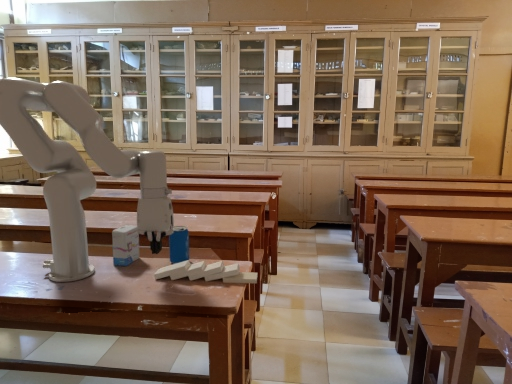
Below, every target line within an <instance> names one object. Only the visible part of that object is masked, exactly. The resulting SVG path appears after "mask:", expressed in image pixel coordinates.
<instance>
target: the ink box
mask: <svg viewBox="0 0 512 384" xmlns="http://www.w3.org/2000/svg"><path fill="white" fill-rule="evenodd" d="M137 231H138V228H137V225H131V224H128V225H127V224H125V225H123V226H120V227H118V228H115V229H113V230H112V231H111V232H112V233H111V235H112V256H113V257H112V263H113V266H121V267H122V266H123V267H127V266H129V265H130V264H132V263H133V262H135V261H136V260H138V259H140V237H139V235H140V234H139V233H138V232H137Z"/></svg>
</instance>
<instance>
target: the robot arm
mask: <svg viewBox="0 0 512 384" xmlns="http://www.w3.org/2000/svg"><path fill="white" fill-rule="evenodd" d="M29 111H34V112H35V111H36V112H49V113H50V112H51V113H55V114H56V115H57V116H58V117H59V118H60V119H61V120H63V122H64V123H65V124H66V125H67V126H68V127H69V128H70V129H72V131H73V132H74V134H76V135H77V136H78V138H79V140H80V142H81V145H82V147H83V149H84V151H85V152H86V154H87V156H88V157H89V158H90V159H91V161H93V162H94V164H95V165H97V166H98V167H99V168H100V169H101V170H102V171H103V172H104V173H106V174H107V175H108V176H110V177H112V178H115V179H122V178H123V179H124V178H126V177H130V176H133V175H138V174H139V187H140V189H139V190H140V197H138V201H137V206H136V207H137V209H136V226H137V228H138V231H137V232H138V233H139V235H144V236H145V237H146V238H147V239H148V241H149V244H150V245H149V247H150V248H149V249H150V251H151V254H152V255H158V254H159V253H160V252H161V251H162V249H163V248H162V247H163V245H162V243H163V241H162V239H163V238H164V237H166V236H169V235H171V234H173V232H174V231H173V228H172V227H174V225H175V220H174V219H175V217H174V208H173V204H172V200H171V199H172V198H171V196H169V195H172V192H173V190H172V189H170V188H169V187H168V183H167V182H168V181H167V156H166V153H165V152H164V151H161V150H144V151H143V150H137V149H120V148H119V147H118V146H117V145H115V144H114V142H113V141H111V140H110V138H109V137H108V135H107V133H105V131H104V127H103V126H104V123H105V122H104V118H103V115H101V114H100V113H99V112H98V111H97V110H96V109H95V108H94V107H93V106H92V105H91V97H90V94H89V93H88V91H87V90H86V89H85V88H84V87H82V86H80V85H78V84H76V83H75V84H74V83H70V82H68V81H67V82H66V81H61V80H56V81H51V82H49V83H45V82H38V81H33V80H28V79H24V78H19V77H3V78H0V127H2V129H3V130H4V131H5V132H6V133H7V135H8V136H9V138H10V140H11V141H12V142H13V144H14V145H15V147H16V148H17V150H18V151H19V152H20V154H21V155H22V157H23V158H24V160H25V161H26V163H27V164H28V165H29V167H31V169H32V170H34V172H37V173H41V174H46V173H53V172H56V173H55V174H53V175H51V176H49V177H48V178H47V179H46V180H45V182H44V184H43V186H42V187H43V188H42V194H43V198H44V201H45V204H46V208H47V212H48V213H47V214H48V220H49V221H48V222H49V228H50V237H51V238H50V240H51V241H50V242H51V249H52V259H44V261H43V264H42V268H43V269H50V271H49V273H48V279H49V280H51V281H52V282H57V283H66V282H67V283H69V282H74V281H78V280H82V279H86V278H87V277H90V276H91V275H93V274H94V273H95V271H96V269H95V268H96V267H95V266H94V265H93V264H91V263H90V262H89V261H90V260H89V259H90V258H89V247H88V236H87V235H88V234H87V232H88V231H87V223H86V221H87V220H86V214H85V211H84V208H83V205H82V203H81V201H82V200H85V199H87V198H89V197H91V196H93V194H94V193H95V192H96V189H97V186H98V185H97V180H96V177H95V175H94V174H93V172H92V171H91V169H90V168H89V166H88V165H87V162H86V161H85V160H84V158H83V157H82V156H81V153H79V151H78V150H77V149H76V147H75V146H74V145H72V144H71V143H69V142H67V141H66V140H62V139H52V138H51V137H50V136H49V135H48V133H47V132H46V131H45V130H44V128H43V126H42V125H41V124H40V122H39V121H38V120H37V119H36V118H35V117H34V116H32V115H31V114H30V113H29Z"/></svg>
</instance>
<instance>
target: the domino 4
mask: <svg viewBox="0 0 512 384" xmlns="http://www.w3.org/2000/svg"><path fill="white" fill-rule="evenodd" d="M239 272H240V265H239V263H233V264H228V265H224V267H223V270H222V272H219V273H215V274H212V275H208V276H205V277H204V281H205V282H210V281H215V280H219V279H223V278H224V277H229V276H233V275H238V273H239Z"/></svg>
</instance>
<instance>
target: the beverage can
mask: <svg viewBox="0 0 512 384" xmlns="http://www.w3.org/2000/svg"><path fill="white" fill-rule="evenodd" d="M172 228H173V231H174V232H173V234H171V235H168V245H169V262H170V263H171V264H172V265H173V264H176V263H180V262H183V261H187V260H189V261H190V236H189V235H190V234H189V232H190V231H189V229H188V227H187V226H184V225H175V226H173V227H172Z"/></svg>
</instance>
